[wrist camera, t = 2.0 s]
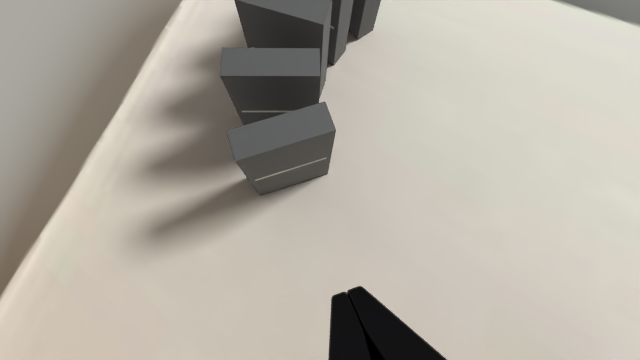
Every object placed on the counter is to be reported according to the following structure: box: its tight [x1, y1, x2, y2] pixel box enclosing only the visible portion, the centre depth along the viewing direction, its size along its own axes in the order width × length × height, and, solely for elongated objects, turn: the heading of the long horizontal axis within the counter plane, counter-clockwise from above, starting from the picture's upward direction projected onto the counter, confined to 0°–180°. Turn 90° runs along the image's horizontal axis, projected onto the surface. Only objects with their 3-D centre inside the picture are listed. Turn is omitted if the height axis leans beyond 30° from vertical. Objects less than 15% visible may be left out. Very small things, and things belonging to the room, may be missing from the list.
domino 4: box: [327, 0, 353, 65], centre depth 23 cm, size 2×5×8 cm, turn 55°
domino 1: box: [235, 0, 332, 98], centre depth 22 cm, size 2×5×8 cm, turn 72°
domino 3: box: [227, 102, 336, 195], centre depth 20 cm, size 2×5×8 cm, turn 109°
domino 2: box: [220, 48, 320, 125], centre depth 21 cm, size 2×5×8 cm, turn 91°
